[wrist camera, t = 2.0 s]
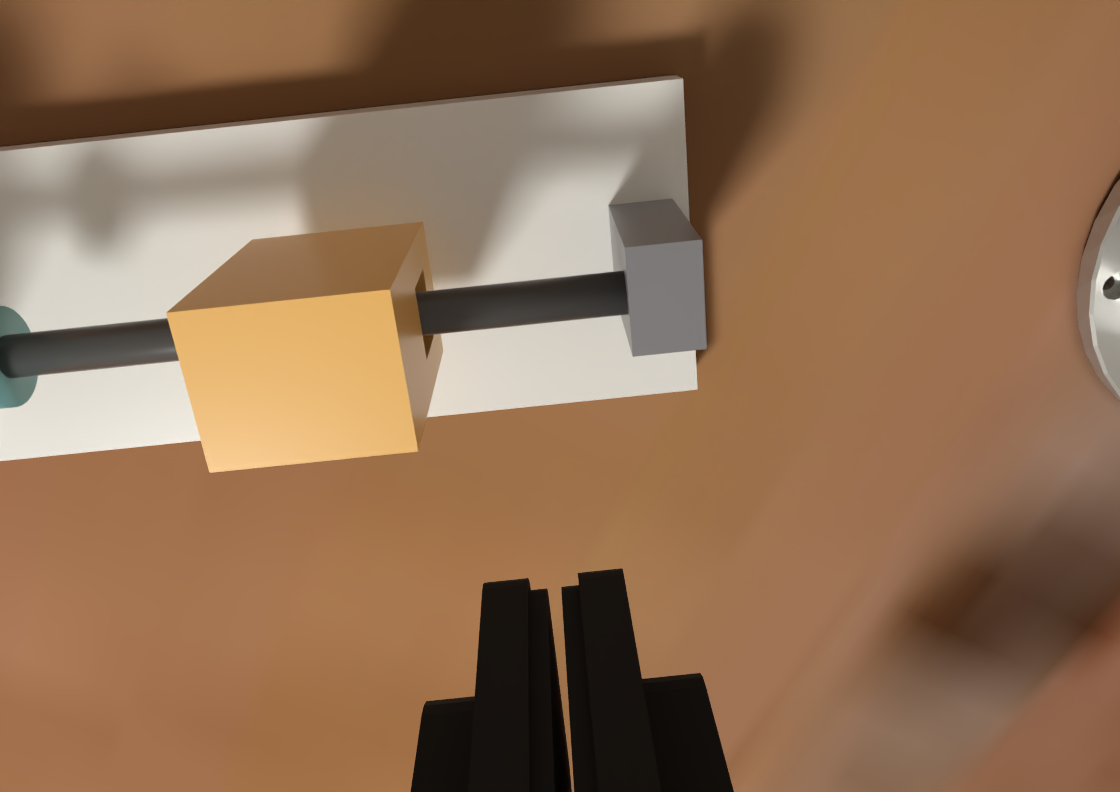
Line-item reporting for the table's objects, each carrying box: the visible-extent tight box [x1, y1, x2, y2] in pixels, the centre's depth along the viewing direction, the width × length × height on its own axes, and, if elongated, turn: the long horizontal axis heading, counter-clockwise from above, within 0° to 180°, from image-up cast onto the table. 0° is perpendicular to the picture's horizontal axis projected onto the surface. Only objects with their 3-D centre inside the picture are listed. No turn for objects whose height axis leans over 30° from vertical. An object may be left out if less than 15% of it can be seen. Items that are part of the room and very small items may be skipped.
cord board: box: [0, 75, 707, 461], centre depth 27 cm, size 27×10×9 cm, turn 96°
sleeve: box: [166, 222, 443, 473], centre depth 25 cm, size 5×4×7 cm
